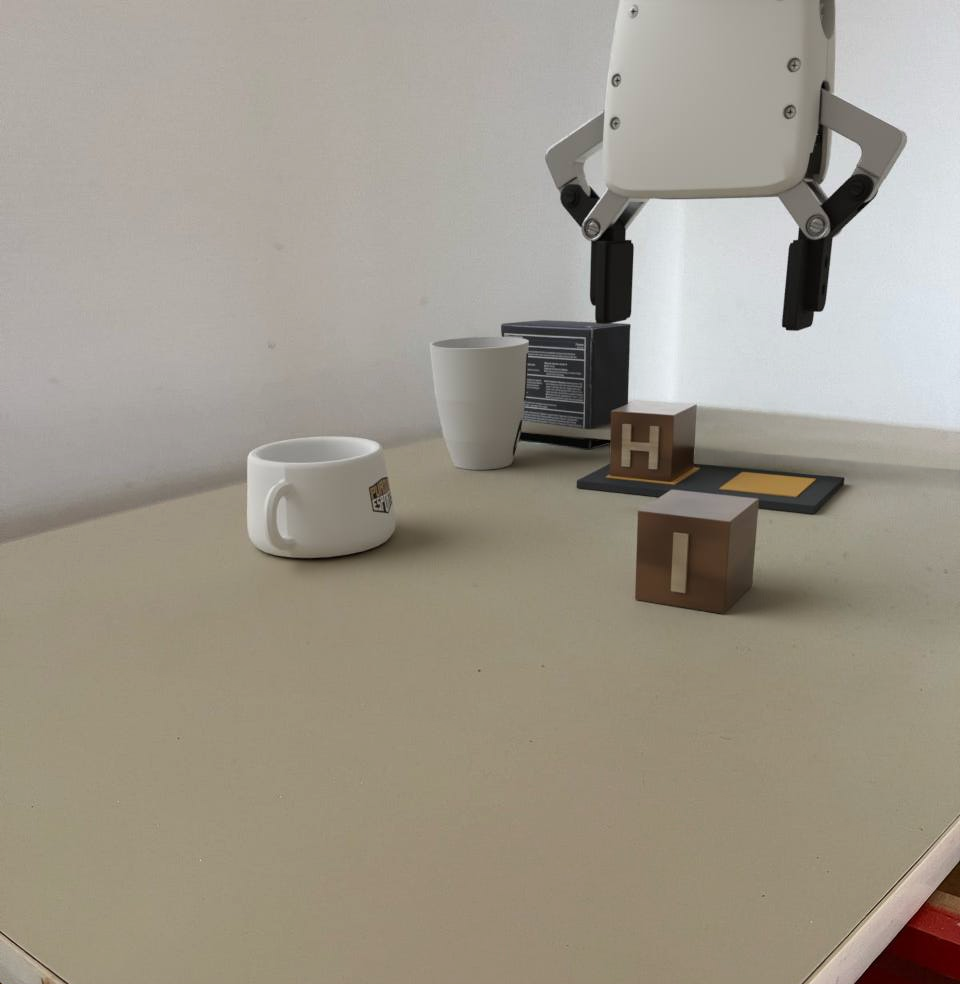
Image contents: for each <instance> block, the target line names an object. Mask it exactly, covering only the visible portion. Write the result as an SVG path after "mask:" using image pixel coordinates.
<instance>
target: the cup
mask: <svg viewBox="0 0 960 984" xmlns="http://www.w3.org/2000/svg"><path fill="white" fill-rule="evenodd" d="M528 345H529V341H528V340H526V339H522V338H514V337H502V336H471V337H470V336H469V337H457V338H447V339H441V340H436V341H432V342H430V343H429V352H430V363H431V371H432V382H433V388H434V397H435V401H436V407H437V411H438V417H439V422H440V426H441V432H442V435H443V439H444V441H445V444H446V448H447V450H448V452H449V455H450V458H451V461H452V464H453V466H454V467H456V468H459V469H463V470H470V471H471V470H472V471H484V470H496V469H502V468H506V467H509V466H510V465H512V464H513V461H514V458H515V454H516V452H517V447H518V444H519V441H520V440H519V437H520V434H521V432H522V426H523V421H522V420H523V413H524V406H525V399H526V392H527V368H528Z"/></svg>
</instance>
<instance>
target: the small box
mask: <svg viewBox="0 0 960 984" xmlns="http://www.w3.org/2000/svg"><path fill="white" fill-rule="evenodd" d="M500 335H501V337H514V338H522V339H526V340H528V341H529V345H528V368H527V392H526V399H525V406H524V413H523V420H522V422H530V423H538V424H545V425H546V424H547V425H551V426H552V425H553V426H560V427H567V428H568V427H569V428H577V429H583V430H584V429H585V430H594V429H597V428H602V427H605V426H609V425H611V411H612V410H615V409H617V408H620V407H622V406H624V405H627V404H629V382H630V354H631V353H630V351H631V350H630V349H631V323H620V322H619V323H618V322H614V323H609V324H597V323H596V321H576V320H575V321H572V320H571V321H570V320H551V319H550V320H549V319H548V320H547V319H545V320H544V319H540V320H527V321H516V322H515V321H514V322H503V323H501V325H500ZM610 440H611V439H606V438H596V437H595V438H594V437H583V436H571V435H561V434H560V435H557V434H550V433H549V434H547V433H546V434H545V433H537V432H536V433H535V432H524V431H523V432H522V431H521V434H520V437H519V441H527V442H533V443H541V444H548V445H549V444H550V445H555V446H564V447H571V448H578V449H584V450H591V449H594V448H597V447H601V446H605V445H610Z"/></svg>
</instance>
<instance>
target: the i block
mask: <svg viewBox="0 0 960 984" xmlns="http://www.w3.org/2000/svg"><path fill="white" fill-rule="evenodd" d="M758 504H759V499H756V498H746V497H737V496H728V495H718V494H709V493H700V492H690V491H681V490H670V491H669V492H667V493H666V494H664V495H662V496H661V497H657V498H656V499H654V500H653V501H651V502H649V503H648V504H647V505H645V506H643V507H641V508H640V509H639V510H637V523H636V524H637V525H636V554H635V555H636V559H635V585H634V586H635V588H634V600H636V601H641V602H647V603H654V604H661V605H666V606H672V607H678V608H684V609H690V610H697V611H703V612H709V613H715V614H720V615H721V614H722V615H724V614H726V613H727V612H728V611H729V609H730V608H732V607H733V606H734V605H735V604H736V602H737V601H739V599H740V598H741V597H743V595H744V594H745V593H746V592H747V591H748V590H749V589H750V588H751V587H752V586H753V579H754V567H755V554H756V543H757V542H756V541H757V530H758V529H757V527H758V516H759V508H758Z"/></svg>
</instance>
